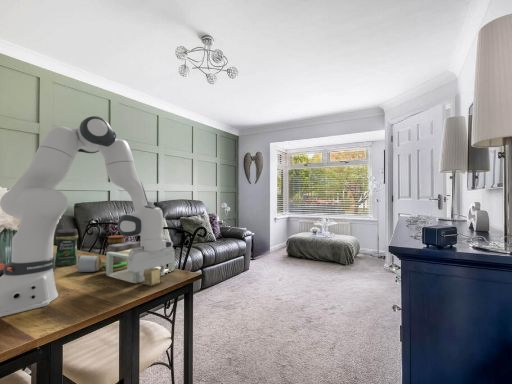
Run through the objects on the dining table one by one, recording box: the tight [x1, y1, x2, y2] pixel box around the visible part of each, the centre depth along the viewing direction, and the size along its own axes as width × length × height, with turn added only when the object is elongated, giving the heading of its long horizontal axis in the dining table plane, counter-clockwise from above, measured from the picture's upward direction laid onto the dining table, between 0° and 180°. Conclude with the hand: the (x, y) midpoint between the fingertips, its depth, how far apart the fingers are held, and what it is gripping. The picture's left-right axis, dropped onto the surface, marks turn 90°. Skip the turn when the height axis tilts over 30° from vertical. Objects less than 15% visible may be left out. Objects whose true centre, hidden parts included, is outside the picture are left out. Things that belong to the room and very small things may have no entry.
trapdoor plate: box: [107, 240, 140, 258], centre depth 127 cm, size 16×24×5 cm
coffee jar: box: [54, 228, 79, 267], centre depth 140 cm, size 10×8×19 cm
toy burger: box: [103, 234, 128, 269], centre depth 139 cm, size 12×13×15 cm
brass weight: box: [143, 268, 161, 287], centre depth 111 cm, size 4×5×6 cm
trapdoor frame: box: [105, 248, 176, 284], centre depth 125 cm, size 21×21×10 cm
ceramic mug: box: [76, 255, 102, 273], centre depth 129 cm, size 11×8×8 cm
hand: (151, 278), depth 111 cm, fingers open, 8 cm apart
